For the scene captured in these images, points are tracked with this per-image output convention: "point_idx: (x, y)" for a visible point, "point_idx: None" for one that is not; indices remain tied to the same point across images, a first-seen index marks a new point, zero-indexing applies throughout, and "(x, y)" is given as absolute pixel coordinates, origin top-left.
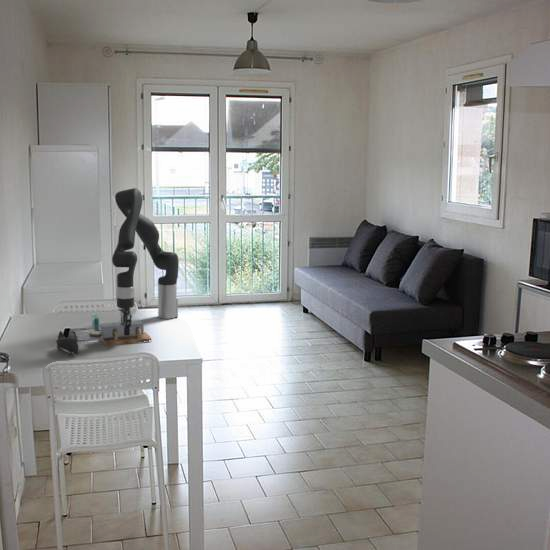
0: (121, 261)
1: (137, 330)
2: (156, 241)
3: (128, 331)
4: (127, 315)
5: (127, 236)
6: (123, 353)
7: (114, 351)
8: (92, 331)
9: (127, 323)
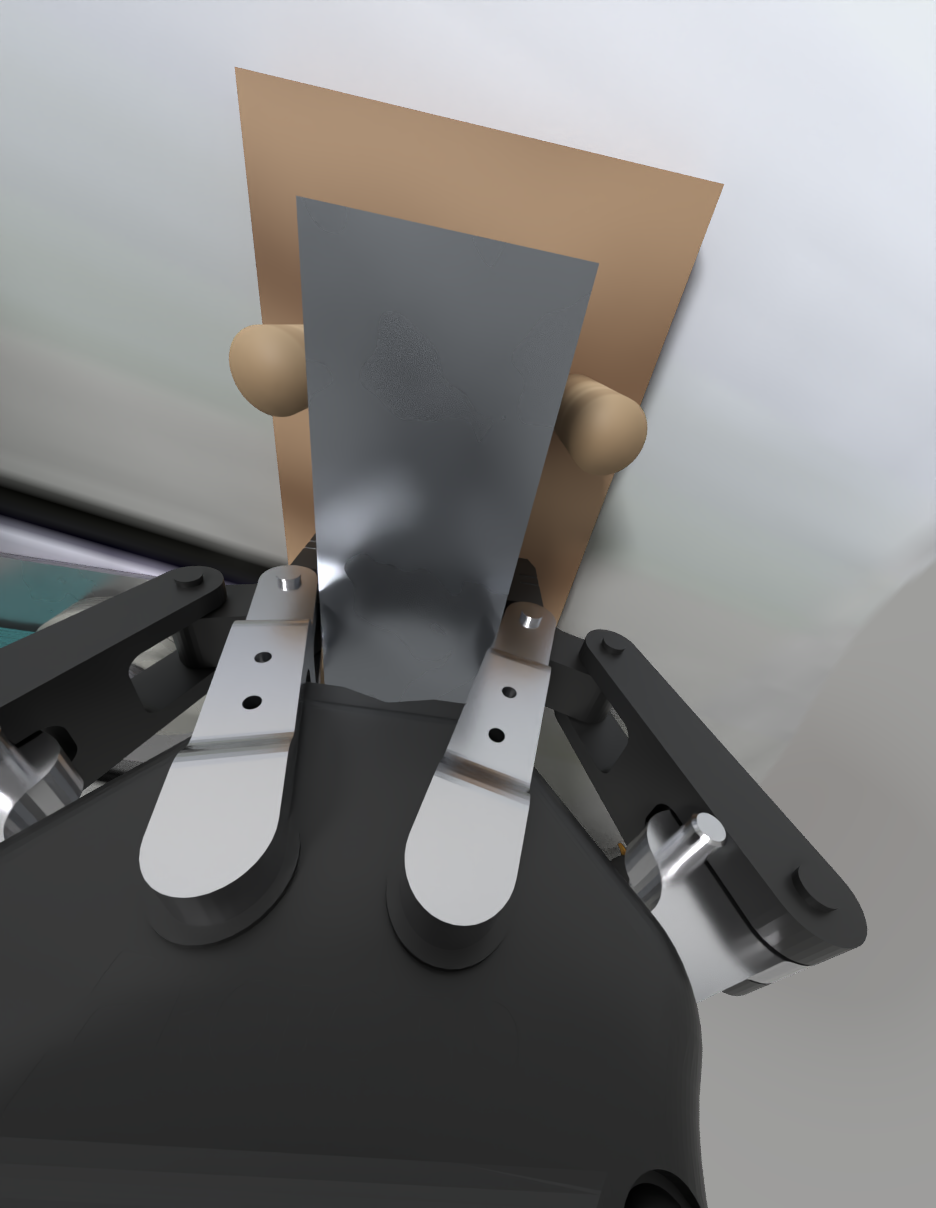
0: None
1: (608, 467)
2: None
3: (534, 590)
4: (768, 970)
5: None
6: (799, 672)
7: (694, 701)
8: (172, 722)
9: (411, 626)
